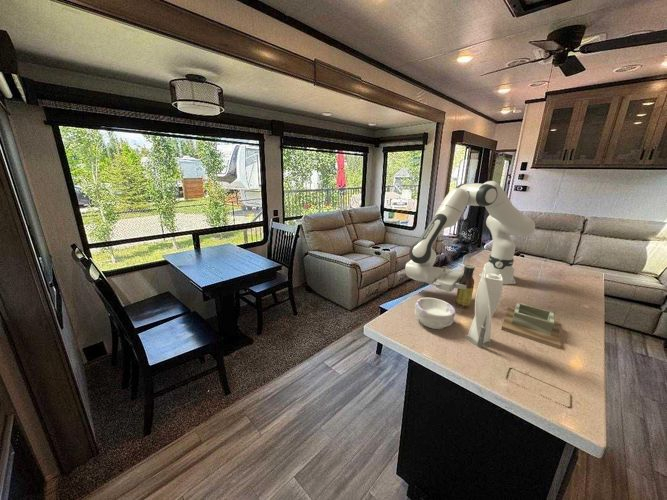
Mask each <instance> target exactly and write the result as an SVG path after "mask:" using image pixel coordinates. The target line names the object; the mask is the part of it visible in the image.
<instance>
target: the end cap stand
mask: <svg viewBox="0 0 667 500" xmlns="http://www.w3.org/2000/svg"><path fill="white" fill-rule="evenodd" d="M506 308H507V309H506V312H505V315H504V319H503V322H502V325H501V331H503V332H505V333H506V332H507V333H511V334H513V335H516V336H519V337H522V338H526V339H528V340H531V341H534V342H537V343H541V344H544V345H546V346H549V347H552V348H556V349H559V350H560V348H561V346H562V343H561V334H560V323H559V319H556V318H555V316H554V314H555V313H554V311H552V310H547V309H543V308H540V307H536V306H533V305H532V306H531V305H529V304H525V303H521V302H518V301H517V302H516V305H515V307H513V306H511V305H510V306H509V305H508V306H507V307H506Z"/></svg>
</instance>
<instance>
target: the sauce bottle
mask: <svg viewBox="0 0 667 500" xmlns="http://www.w3.org/2000/svg"><path fill="white" fill-rule="evenodd" d="M474 271H475V266H474V265H471V264H465V265H464V267H463V272H462V273H463V276H462V277H461V279H460V280H459V283H458V284H465V285H467V288H466V289H457V291H456V292H457V293H456V297H455V304H456V306H458V307H460V308H463V309H468V308H469V307H470V306H471V303H472V302H471V301H472V297H473V293H474V287H475V279H474V277H473V276H474Z"/></svg>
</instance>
